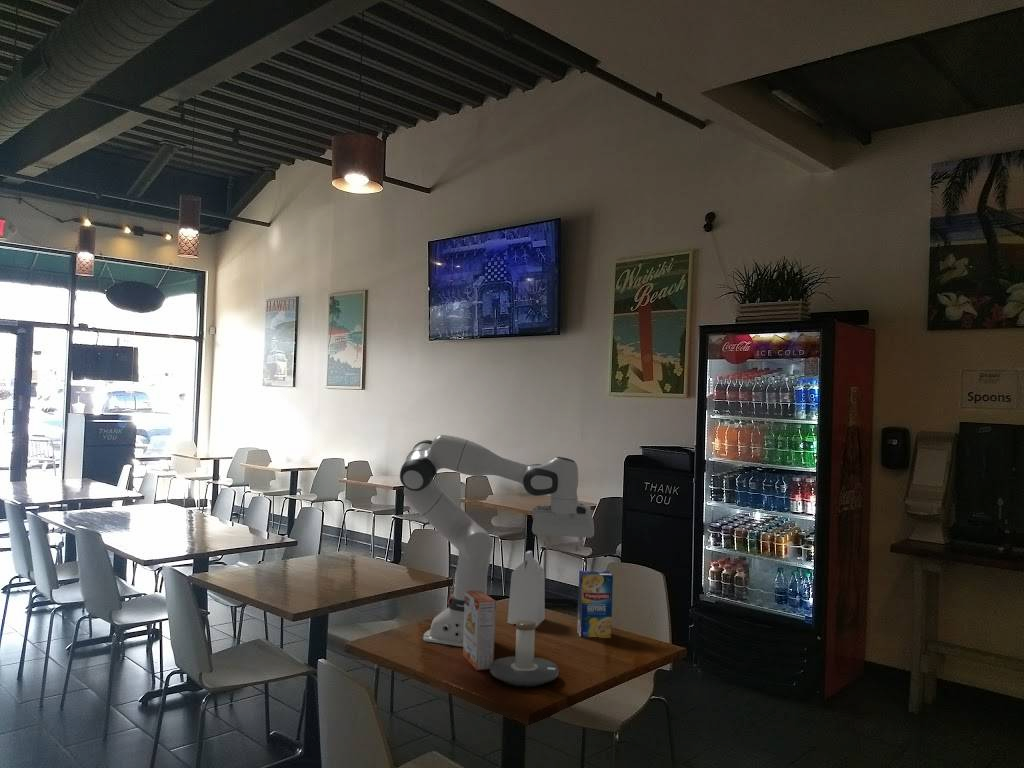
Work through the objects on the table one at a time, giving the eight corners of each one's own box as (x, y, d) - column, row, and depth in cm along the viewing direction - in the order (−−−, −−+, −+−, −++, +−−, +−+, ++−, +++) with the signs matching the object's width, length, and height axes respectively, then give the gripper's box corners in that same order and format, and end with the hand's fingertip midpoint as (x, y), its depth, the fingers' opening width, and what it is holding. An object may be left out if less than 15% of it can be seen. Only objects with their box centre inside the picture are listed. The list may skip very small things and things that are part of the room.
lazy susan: (484, 680, 214) (484, 674, 214) (496, 658, 234) (496, 653, 234) (554, 687, 211) (554, 680, 211) (561, 664, 231) (561, 658, 231)
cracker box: (461, 657, 240) (464, 590, 241) (479, 655, 242) (481, 589, 243) (475, 671, 227) (477, 600, 228) (494, 669, 229) (496, 599, 230)
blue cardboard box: (611, 637, 268) (613, 575, 269) (580, 637, 267) (582, 574, 268) (606, 632, 275) (608, 571, 276) (577, 632, 274) (579, 570, 275)
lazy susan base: (496, 684, 217) (496, 679, 217) (504, 668, 230) (504, 663, 230) (544, 688, 214) (545, 683, 214) (550, 672, 228) (550, 667, 228)
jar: (513, 668, 220) (514, 625, 221) (515, 662, 226) (517, 620, 226) (532, 670, 219) (534, 626, 220) (535, 663, 225) (536, 621, 226)
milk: (515, 616, 293) (518, 548, 294) (544, 619, 290) (547, 550, 291) (507, 623, 282) (509, 553, 283) (537, 627, 279) (540, 555, 280)
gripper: (531, 506, 246) (529, 549, 245) (594, 509, 242) (592, 553, 242) (533, 504, 252) (532, 546, 251) (595, 507, 249) (593, 550, 248)
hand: (562, 549), depth 246 cm, fingers open, 8 cm apart
